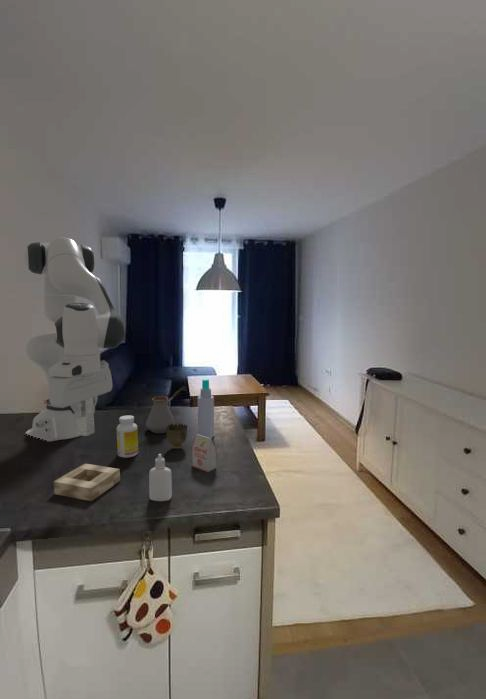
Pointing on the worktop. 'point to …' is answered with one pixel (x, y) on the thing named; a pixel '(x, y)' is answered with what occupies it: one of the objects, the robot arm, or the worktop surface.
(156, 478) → the eye dropper bottle
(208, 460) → the white and red box
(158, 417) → the coffee pot
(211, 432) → the spray bottle
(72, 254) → the robot arm
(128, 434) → the supplement bottle
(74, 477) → the tan square ring
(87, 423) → the metal peg
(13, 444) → the worktop surface
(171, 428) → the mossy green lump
